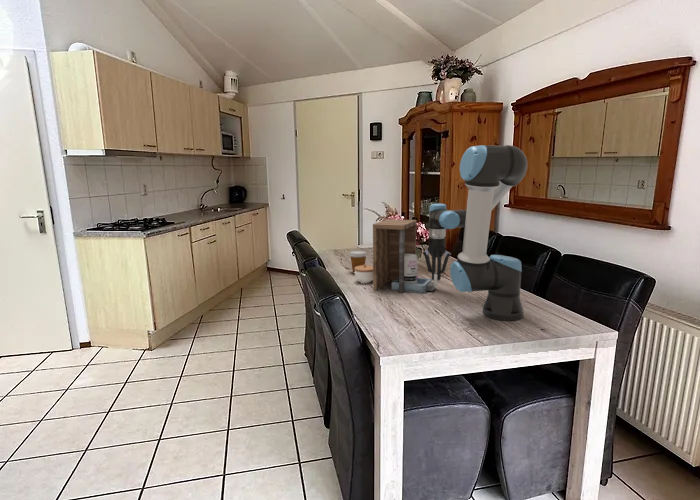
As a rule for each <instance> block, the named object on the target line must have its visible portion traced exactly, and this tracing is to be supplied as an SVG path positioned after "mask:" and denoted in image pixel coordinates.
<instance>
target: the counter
mask: <svg viewBox="0 0 700 500" xmlns="http://www.w3.org/2000/svg"><path fill="white" fill-rule="evenodd" d="M404 254H416V255H417V220H416V219H388V218H387V219H383V220H381V221H378V222H375V223H373V224H372V266H373V280H372V284H373V285H372V287H373V288H372V289H373V290H374V291H377V290H379V289H381V288H382V287H383V286H384V285H385V283H386V284H387V283H388V282H393V281H394V280H396V279H397V278H398V277H399V290H398V294H399V293H400V294H404V293H405V291H404ZM378 288H379V289H378Z"/></svg>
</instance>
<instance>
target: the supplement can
mask: <svg viewBox="0 0 700 500" xmlns="http://www.w3.org/2000/svg"><path fill="white" fill-rule="evenodd" d="M417 278H418V256H417V253H416V254H404V283H409V284H417Z"/></svg>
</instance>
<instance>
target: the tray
mask: <svg viewBox="0 0 700 500" xmlns="http://www.w3.org/2000/svg"><path fill="white" fill-rule="evenodd" d="M435 289H436V288H435V287H434V281H433V280H432V278H424V277H417V284H409V283H404V292H410V293H418V294H425V293H426V292H427V291H428V292H433V291H434V290H435ZM391 290H392V291H399V277H398V278H397V279H396V280H394V281H391Z"/></svg>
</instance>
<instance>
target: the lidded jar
mask: <svg viewBox="0 0 700 500" xmlns="http://www.w3.org/2000/svg"><path fill="white" fill-rule="evenodd" d="M354 276H355V278H356V280H357V281H358V283H359V282H362V283H363V284H369V282H370V283H371V282H373V265H368V264H366V263H365V264H364V265H361V266H356V267H355V274H354ZM362 283H361V284H362Z"/></svg>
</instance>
